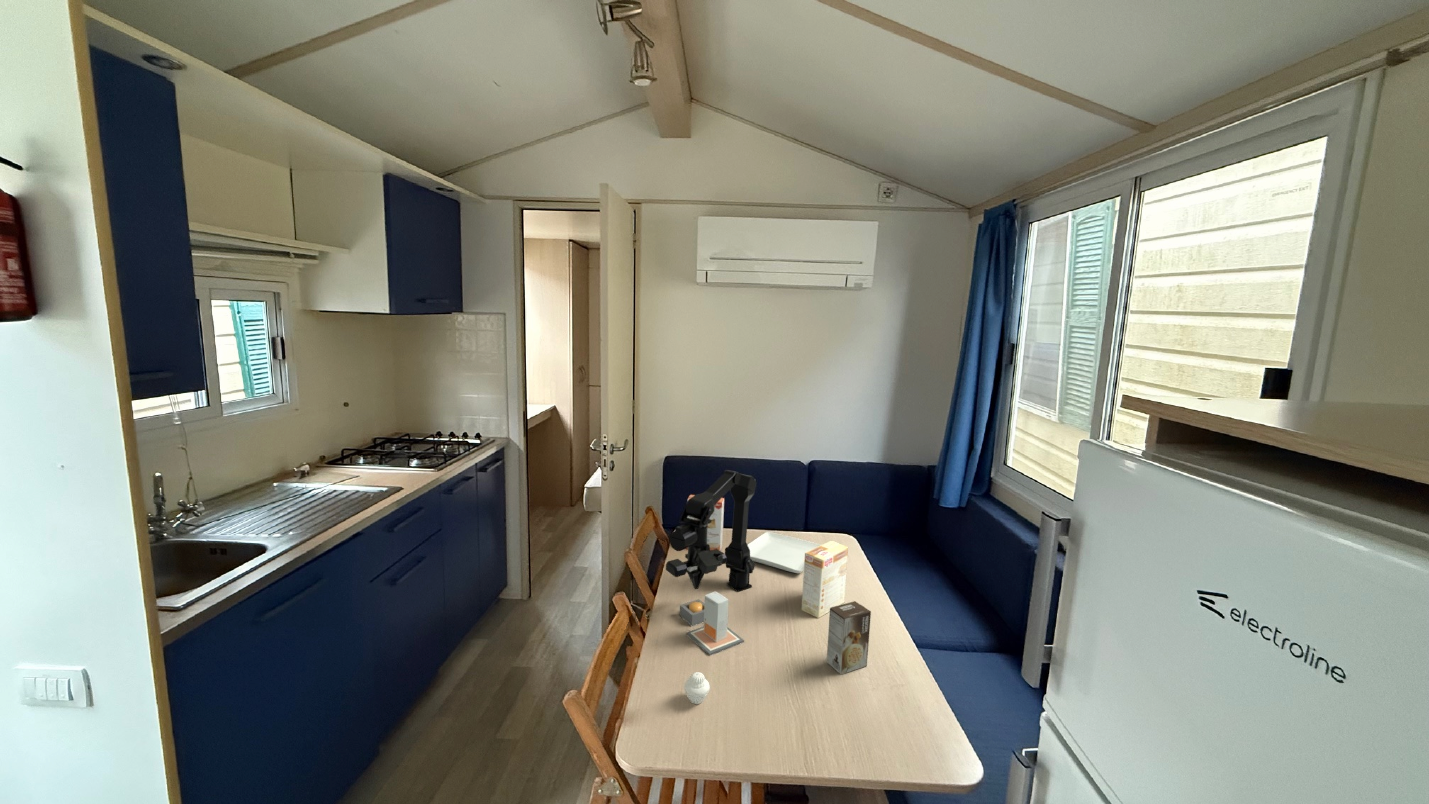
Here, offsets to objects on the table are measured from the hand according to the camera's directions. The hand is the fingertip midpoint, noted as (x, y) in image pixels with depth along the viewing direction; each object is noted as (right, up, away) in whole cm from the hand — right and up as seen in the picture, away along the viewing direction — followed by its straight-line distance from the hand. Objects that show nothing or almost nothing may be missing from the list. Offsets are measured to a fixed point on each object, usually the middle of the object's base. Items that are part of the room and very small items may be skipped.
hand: (695, 588), depth 170 cm
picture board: (+6, -11, -9) cm, 15 cm away
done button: (0, -8, +1) cm, 9 cm away
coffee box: (+41, -14, -19) cm, 48 cm away
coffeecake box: (+41, -10, +11) cm, 43 cm away
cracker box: (+1, -2, +52) cm, 52 cm away
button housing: (0, -9, +2) cm, 10 cm away
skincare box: (+6, -11, -9) cm, 15 cm away
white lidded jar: (+1, -15, -35) cm, 38 cm away
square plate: (+32, -4, +47) cm, 57 cm away
